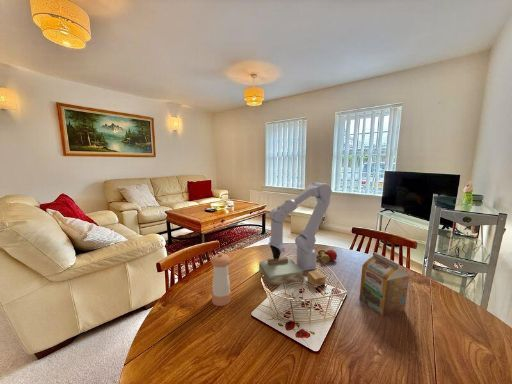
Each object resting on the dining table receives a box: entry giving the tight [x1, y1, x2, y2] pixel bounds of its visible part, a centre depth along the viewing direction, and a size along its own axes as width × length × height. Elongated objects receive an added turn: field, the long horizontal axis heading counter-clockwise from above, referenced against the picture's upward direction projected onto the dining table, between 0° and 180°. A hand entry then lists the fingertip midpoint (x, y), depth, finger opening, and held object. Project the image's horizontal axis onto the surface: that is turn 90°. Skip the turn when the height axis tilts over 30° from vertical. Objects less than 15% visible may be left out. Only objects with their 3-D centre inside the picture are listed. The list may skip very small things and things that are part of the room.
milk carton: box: [359, 252, 410, 318], centre depth 79 cm, size 11×11×19 cm
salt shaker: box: [210, 252, 232, 307], centre depth 81 cm, size 7×7×19 cm
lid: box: [259, 256, 304, 279], centre depth 100 cm, size 16×14×3 cm
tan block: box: [307, 269, 326, 288], centre depth 94 cm, size 5×6×4 cm
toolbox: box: [258, 263, 303, 287], centre depth 100 cm, size 16×14×4 cm
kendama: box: [316, 248, 338, 264], centre depth 115 cm, size 8×6×18 cm
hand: (276, 259), depth 104 cm, fingers closed
